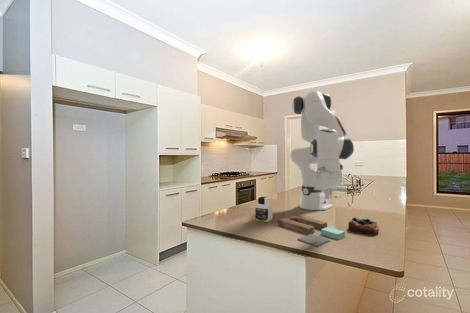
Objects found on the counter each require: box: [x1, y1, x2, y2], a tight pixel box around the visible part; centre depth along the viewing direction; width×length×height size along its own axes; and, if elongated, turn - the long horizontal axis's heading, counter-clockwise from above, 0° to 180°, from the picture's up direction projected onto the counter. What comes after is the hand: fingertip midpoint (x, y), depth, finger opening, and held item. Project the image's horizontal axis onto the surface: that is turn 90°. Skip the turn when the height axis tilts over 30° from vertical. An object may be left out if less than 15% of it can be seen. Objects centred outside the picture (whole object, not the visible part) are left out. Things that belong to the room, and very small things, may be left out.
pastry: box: [348, 217, 380, 236], centre depth 108 cm, size 11×12×6 cm
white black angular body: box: [254, 196, 273, 223], centre depth 127 cm, size 7×7×12 cm
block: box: [320, 226, 346, 240], centre depth 102 cm, size 5×8×2 cm, turn 37°
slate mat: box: [297, 233, 331, 247], centre depth 96 cm, size 9×9×1 cm
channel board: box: [277, 214, 328, 235], centre depth 115 cm, size 14×18×2 cm
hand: (328, 198), depth 102 cm, fingers closed
